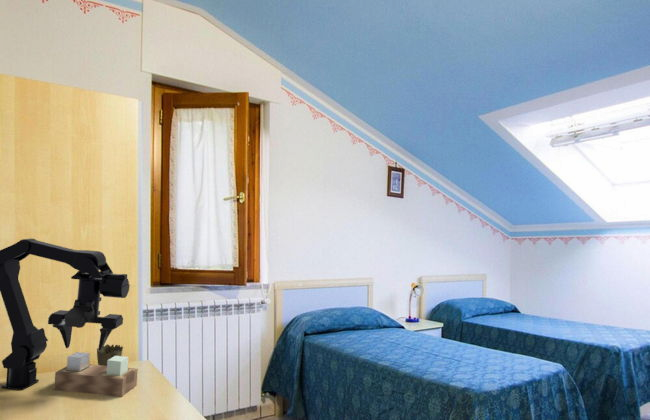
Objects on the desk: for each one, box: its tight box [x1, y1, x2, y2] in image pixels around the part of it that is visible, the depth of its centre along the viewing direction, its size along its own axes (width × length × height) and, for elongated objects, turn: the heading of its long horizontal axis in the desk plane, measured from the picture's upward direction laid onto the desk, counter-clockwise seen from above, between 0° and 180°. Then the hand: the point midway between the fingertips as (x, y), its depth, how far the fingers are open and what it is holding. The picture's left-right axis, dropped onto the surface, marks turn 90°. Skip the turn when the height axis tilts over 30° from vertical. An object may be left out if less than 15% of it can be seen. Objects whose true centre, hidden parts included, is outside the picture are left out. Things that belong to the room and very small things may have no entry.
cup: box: [96, 344, 124, 366], centre depth 138 cm, size 8×7×8 cm
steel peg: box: [66, 351, 90, 372], centre depth 127 cm, size 4×4×5 cm
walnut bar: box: [53, 363, 139, 398], centre depth 126 cm, size 20×8×5 cm, turn 85°
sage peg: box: [107, 355, 129, 376], centre depth 126 cm, size 4×4×5 cm
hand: (83, 349), depth 126 cm, fingers open, 9 cm apart
